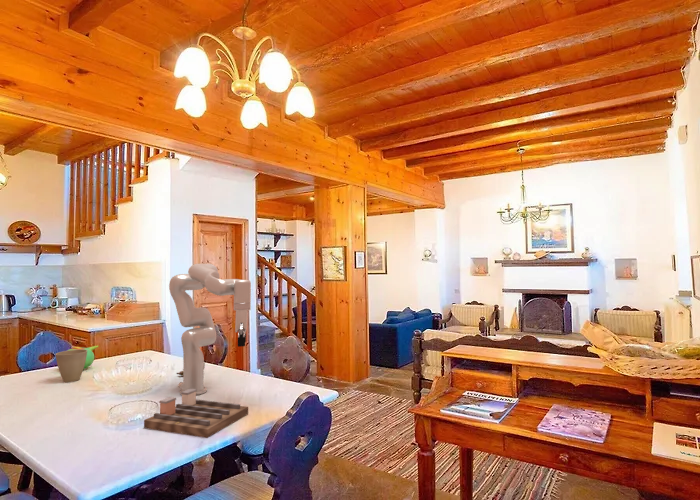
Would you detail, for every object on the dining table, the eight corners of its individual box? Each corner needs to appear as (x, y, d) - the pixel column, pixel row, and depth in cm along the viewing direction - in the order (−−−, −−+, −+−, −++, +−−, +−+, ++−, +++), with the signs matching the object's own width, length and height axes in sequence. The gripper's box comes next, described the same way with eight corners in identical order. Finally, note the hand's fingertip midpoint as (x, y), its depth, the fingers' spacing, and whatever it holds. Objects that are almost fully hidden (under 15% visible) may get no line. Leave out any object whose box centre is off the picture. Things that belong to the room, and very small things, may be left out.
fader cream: (181, 406, 175) (181, 392, 176) (190, 402, 180) (190, 388, 181) (187, 407, 174) (187, 392, 174) (196, 403, 179) (196, 389, 180)
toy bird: (54, 372, 251) (54, 348, 252) (76, 366, 268) (77, 343, 269) (80, 373, 248) (80, 348, 249) (101, 366, 265) (101, 343, 266)
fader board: (143, 427, 161) (144, 415, 161) (190, 406, 185) (190, 396, 186) (207, 437, 151) (207, 424, 151) (248, 413, 175) (248, 402, 175)
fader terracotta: (159, 416, 164) (159, 400, 164) (169, 411, 169) (169, 396, 169) (166, 417, 163) (166, 401, 163) (176, 412, 168) (176, 397, 168)
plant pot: (80, 375, 243) (80, 348, 243) (91, 379, 234) (92, 351, 235) (50, 381, 230) (51, 352, 231) (61, 385, 222) (61, 355, 222)
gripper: (234, 305, 197) (234, 341, 197) (232, 308, 180) (232, 348, 180) (250, 304, 199) (250, 340, 198) (250, 308, 182) (249, 347, 181)
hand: (241, 344), depth 189 cm, fingers open, 9 cm apart
